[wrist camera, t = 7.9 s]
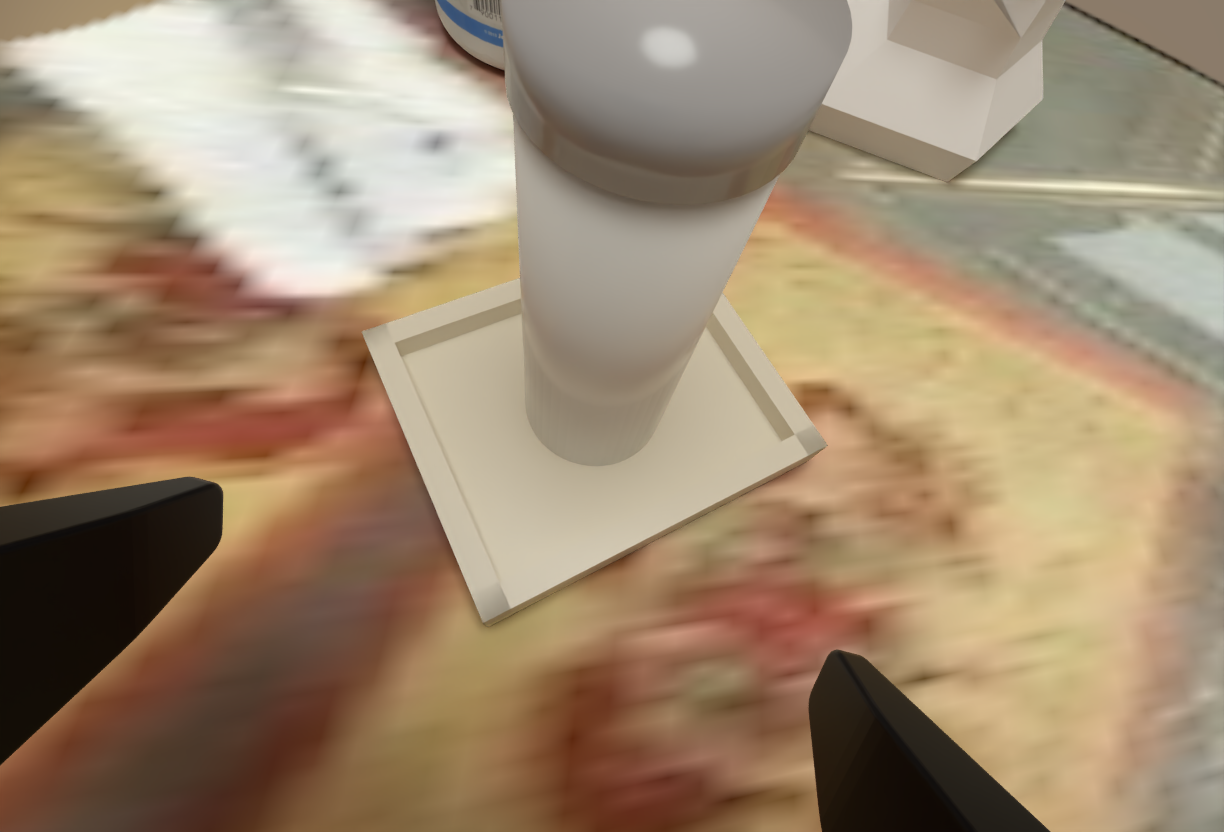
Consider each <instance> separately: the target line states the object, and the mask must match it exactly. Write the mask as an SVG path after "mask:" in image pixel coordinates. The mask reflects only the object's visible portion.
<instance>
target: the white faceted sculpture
mask: <svg viewBox="0 0 1224 832" xmlns="http://www.w3.org/2000/svg"><path fill="white" fill-rule="evenodd" d="M847 2H848V5H849V8H850V11H851V18H852V38H851V42H850V45H849V49H848V52H847V54H846V56H845V58H844V60H843V62H842V64H841V66H840V68H839V70H838V72H837V74H836V76H835V78H834V80H833V82H832V84H831V86H830V88H829V90H828V92H827V94H826V96H825V98H824V100H823V102H822V104H821V106H820V108H819V110H818V112H817V114H816V116H815V118H814V120H813V122H812V124H811V126H810V128H809V131H812V132H815V133H817V134H820V135H823V136H825V137H828V138H831V139H833V140H836V141H839V142H841V143H844V144H847V145H849V146H852V147H855V148H857V149H860V150H863V151H865V152H868V153H871V154H873V155H876V156H879V157H881V158H884V159H887V160H889V161H892V162H895V163H897V164H900V165H903V166H905V167H908V168H911V169H913V170H916V171H919V172H921V173H924V174H927V175H929V176H932V177H935V178H937V179H940V180H943V181H945V182H948V181H949V180H951V179H952V178H954V177H955V176H956V175H958V174H959V173H961V172H962V171H963V170H965V169H966V168H968V167H969V166H970V165H972V164H973V163H975V162H976V161H977V160H978V159H979V158H980V157H982V156H983V155H984V154H985V153H986V152H987V151H988V150H989V149H990V148H991V147H992V146H993V145H994V144H995V143H996V142H998V141H999V140H1000V139H1001V138H1002V137H1003V136H1004V135H1005V134H1006V133H1007V132H1008V131H1009V130H1010V129H1011V128H1012V127H1014V126H1015V125H1016V124H1017V123H1018V122H1019V121H1020V120H1021V119H1022V118H1023V117H1024V116H1025V115H1026V114H1027V113H1028V112H1030V111H1031V110H1032V109H1033V108H1034V107H1035V106H1036V105H1037V104H1038V103H1039V102H1040V101H1041V100H1042V99H1043V62H1042V40H1043V38H1044V36H1045V35H1046V33H1047V31H1048V29H1049V28H1050V26H1051V24H1052V23H1053V21H1054V19H1055V17H1056V16H1057V14H1058V12H1059V11H1060V9H1061V7H1062V6H1063V4H1064V2H1065V0H847Z"/></svg>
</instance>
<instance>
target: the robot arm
mask: <svg viewBox="0 0 1224 832" xmlns="http://www.w3.org/2000/svg"><path fill="white" fill-rule="evenodd" d="M222 525H223V491H222V488H221V487H220V486H219V485H218V484H217V483H214V482H210V481H206V480H203V479H199V478H195V477H183V478H177V479H171V480H165V481H158V482H152V483H146V484H140V485H133V486H127V487H121V488H115V489H109V490H102V491H96V492H90V493H84V494H77V495H71V496H65V497H59V498H53V499H46V500H40V501H34V502H28V503H21V504H15V505H9V506H3V507H0V765H1V764H2V763H3V762H4V761H5V760H6V759H8V758H9V757H10V756H11V755H12V754H13V753H14V752H15V751H16V750H17V749H18V748H19V747H20V746H21V745H23V744H24V743H25V742H26V741H27V740H28V739H29V738H30V737H31V736H32V735H33V734H34V733H35V732H36V731H37V730H39V729H40V728H41V727H42V726H43V725H44V724H45V723H46V722H47V721H48V720H49V719H50V718H51V717H52V716H54V715H55V714H56V713H57V712H58V711H59V710H60V709H61V708H62V707H63V706H64V705H65V704H66V703H67V702H69V701H70V700H71V699H72V698H73V697H74V696H75V695H76V694H77V693H78V692H79V691H80V690H81V689H82V688H84V687H85V686H86V685H87V684H88V683H89V682H90V681H91V680H92V679H93V678H94V677H95V676H96V675H97V674H98V673H100V672H101V671H102V670H103V669H104V668H105V667H106V666H107V665H108V664H109V663H110V662H111V661H112V660H113V659H115V658H116V657H117V656H118V655H119V654H120V653H121V652H122V651H123V650H124V649H125V648H126V647H127V646H128V645H129V644H130V643H131V642H132V641H133V640H134V639H135V638H136V637H137V636H138V635H139V634H140V633H141V632H142V631H143V630H144V629H145V628H146V627H147V626H148V625H149V623H150V622H151V621H152V620H153V619H154V618H155V617H156V616H157V615H158V613H159V612H160V611H161V610H162V609H163V608H164V607H165V606H166V605H167V603H168V602H169V601H170V600H171V599H172V598H173V597H174V596H175V594H176V593H177V592H178V591H179V590H180V589H181V588H182V587H183V586H184V584H185V583H186V582H187V581H188V580H189V579H190V578H191V577H192V575H193V574H194V573H195V572H196V571H197V570H198V569H199V568H200V567H201V565H202V564H203V563H204V562H205V561H206V560H207V559H208V558H209V556H210V555H211V554H212V553H213V552H214V551H215V549H216V548H217V546H218V544H219V542H220V540H221V536H222ZM809 719H810V729H811V739H812V749H813V758H814V768H815V778H816V788H817V798H818V807H819V814H820V822H821V828H822V832H1050V831H1049V830H1048V829H1047V828H1046V827H1045V826H1044V825H1043V824H1042V823H1041V822H1040V821H1038V820H1037V819H1036V818H1035V817H1034V816H1033V815H1032V814H1031V813H1030V812H1029V811H1028V810H1027V809H1026V808H1025V807H1024V806H1022V805H1021V804H1020V803H1019V802H1018V801H1017V800H1016V799H1015V798H1014V797H1013V796H1012V795H1011V794H1010V793H1009V792H1007V791H1006V790H1005V789H1004V788H1003V787H1002V786H1001V785H1000V784H999V783H998V782H997V781H996V780H995V779H994V778H993V777H991V776H990V775H989V774H988V773H987V772H986V771H985V770H984V769H983V768H982V767H981V766H980V765H979V764H978V763H977V762H975V761H974V760H973V759H972V758H971V757H970V756H969V755H968V754H967V753H966V752H965V751H964V750H963V749H962V748H960V747H959V746H958V745H957V744H956V743H955V742H954V741H953V740H952V739H951V738H950V737H949V736H948V735H947V734H946V733H944V732H943V731H942V730H941V729H940V728H939V727H938V726H937V725H936V724H935V723H934V722H933V721H932V720H931V719H930V718H928V717H927V716H926V715H925V714H924V713H923V712H922V711H921V710H920V709H919V708H918V707H917V706H916V705H915V704H913V703H912V702H911V701H910V700H909V699H908V698H907V697H906V696H905V695H904V694H903V693H902V692H901V691H900V690H899V689H897V688H896V687H895V686H894V685H893V684H892V683H891V682H890V681H889V680H888V679H887V678H886V677H885V676H884V675H883V674H881V673H880V672H879V671H878V670H877V669H876V668H875V667H874V666H873V665H872V664H871V663H870V662H869V661H868V660H866V659H865V658H864V657H862V656H860V655H857V654H853V653H849V652H845V651H841V650H834V651H832V652H831V653H830V654H829V655H828V657H827V659H826V661H825V663H824V665H823V667H822V669H821V672H820V674H819V676H818V678H817V680H816V682H815V684H814V687H813V689H812V691H811V694H810V698H809Z"/></svg>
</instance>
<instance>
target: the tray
mask: <svg viewBox="0 0 1224 832" xmlns="http://www.w3.org/2000/svg"><path fill="white" fill-rule="evenodd" d="M362 334H363V336H364V338H365V341H366V343H367V346H368V348H369V350H370V353H371V355H372V358H373V360H374V362H375V365H376V367H377V370H378V372H379V374H380V377H381V379H382V382H383V384H384V386H385V389H386V391H387V394H388V396H389V398H390V401H391V403H392V406H393V408H394V410H395V413H396V415H397V418H398V420H399V422H400V425H401V427H402V430H403V432H404V434H405V437H406V439H407V442H408V444H409V446H410V449H411V451H412V454H413V456H414V458H415V461H416V463H417V466H418V468H419V470H420V473H421V475H422V478H423V480H424V482H425V485H426V487H427V490H428V492H429V494H430V497H431V499H432V502H433V504H434V506H435V509H436V511H437V514H438V516H439V518H440V521H441V523H442V526H443V528H444V530H445V533H446V535H447V538H448V540H449V542H450V545H451V547H452V550H453V552H454V554H455V557H456V559H457V562H458V564H459V566H460V569H461V571H462V574H463V576H464V578H465V581H466V583H467V586H468V588H469V590H470V593H471V595H472V598H473V600H474V603H475V605H476V607H477V610H478V612H479V615H480V617H481V619H482V622H483V623H484V624H485V625H486V626H487V627H489V626H491V625H493V624H495V623H497V622H499V621H501V620H503V619H504V618H506V617H508V616H510V615H512V614H514V613H516V612H518V611H520V610H522V609H524V608H526V607H528V606H530V605H531V604H533V603H535V602H537V601H539V600H541V599H543V598H545V597H547V596H549V595H551V594H553V593H555V592H557V591H558V590H560V589H562V588H564V587H566V586H568V585H570V584H572V583H574V582H576V581H578V580H580V579H582V578H583V577H585V576H587V575H589V574H591V573H593V572H595V571H597V570H599V569H601V568H603V567H605V566H607V565H609V564H610V563H612V562H614V561H616V560H618V559H620V558H622V557H624V556H626V555H628V554H630V553H632V552H634V551H636V550H637V549H639V548H641V547H643V546H645V545H647V544H649V543H651V542H653V541H655V540H657V539H659V538H661V537H663V536H664V535H666V534H668V533H670V532H672V531H674V530H676V529H678V528H680V527H682V526H684V525H686V524H688V523H690V522H691V521H693V520H695V519H697V518H699V517H701V516H703V515H705V514H707V513H709V512H711V511H713V510H715V509H717V508H718V507H720V506H722V505H724V504H726V503H728V502H730V501H732V500H734V499H736V498H738V497H740V496H742V495H744V494H745V493H747V492H749V491H751V490H753V489H755V488H757V487H759V486H761V485H763V484H765V483H767V482H769V481H771V480H772V479H774V478H776V477H778V476H780V475H782V474H784V473H786V472H788V471H790V470H792V469H794V468H796V467H798V466H799V465H801V464H803V463H805V462H807V461H809V460H810V459H811V458H813V457H814V456H815V455H816V454H818V453H819V452H820V451H821V450H823V449H824V448H825V447H826V446H828V445H827V444H826V442H825V441H824V439H823V438H822V436H821V435H820V433H819V432H818V431H817V429H816V428H815V426H814V425H813V423H812V422H811V420H810V419H809V417H808V416H807V415H806V413H805V412H804V410H803V409H802V407H801V406H800V404H799V403H798V401H797V400H796V399H795V397H794V396H793V394H792V393H791V391H790V390H789V388H788V387H787V385H786V384H785V383H784V381H783V380H782V378H781V377H780V375H779V374H778V372H777V371H776V369H775V368H774V367H773V365H772V364H771V362H770V361H769V359H768V358H767V356H766V355H765V354H764V352H763V351H762V349H761V348H760V346H759V345H758V343H757V342H756V340H755V339H754V338H753V336H752V335H751V333H750V332H749V330H748V329H747V327H746V326H745V324H744V323H743V322H742V320H741V319H740V317H739V316H738V314H737V313H736V311H735V310H734V308H733V307H732V306H731V304H730V303H729V301H728V300H727V298H726V297H725V295H724V294H723V292H722V294H721V296H720V298H719V301H718V303H717V305H716V307H715V309H714V311H713V313H712V315H711V317H710V319H709V321H708V323H707V325H706V327H705V329H704V331H703V333H702V336H701V338H700V340H699V342H698V344H697V346H696V348H695V350H694V352H693V354H692V356H691V358H690V360H689V362H688V364H687V366H686V369H685V371H684V373H683V375H682V377H681V379H680V381H679V383H678V385H677V387H676V389H675V391H674V393H673V395H672V397H671V399H670V401H669V404H668V406H667V408H666V410H665V412H664V414H663V416H662V418H661V420H660V422H659V424H658V426H657V428H656V430H655V432H654V434H653V436H652V438H651V439H650V440H649V442H648V443H647V444H646V445H645V446H644V447H643V448H642V449H641V450H640V451H639V452H637V453H636V454H635V455H633V456H631V457H630V458H628V459H626V460H623V461H621V462H618V463H615V464H611V465H604V466H588V465H581V464H577V463H573V462H570V461H568V460H565V459H563V458H561V457H559V456H558V455H556V454H554V453H553V452H552V451H550V450H549V449H548V448H547V447H546V446H545V445H543V444H542V442H541V441H540V440H539V439H538V438H537V436H536V435H535V433H534V431H533V430H532V428H531V426H530V423H529V421H528V417H527V413H526V406H525V384H524V360H523V336H522V312H521V288H520V278H518V279H515V280H512V281H509V282H506V283H503V284H501V285H498V286H495V287H492V288H489V289H486V290H483V291H480V292H477V293H474V294H471V295H468V296H465V297H462V298H459V299H456V300H453V301H451V302H448V303H445V304H442V305H439V306H436V307H433V308H430V309H427V310H424V311H421V312H418V313H415V314H412V315H409V316H406V317H403V318H400V319H398V320H395V321H392V322H389V323H386V324H383V325H380V326H377V327H374V328H371V329H368V330H365V331H362Z"/></svg>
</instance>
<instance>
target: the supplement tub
mask: <svg viewBox="0 0 1224 832" xmlns="http://www.w3.org/2000/svg"><path fill="white" fill-rule="evenodd" d="M435 3H436V7H437V12H438V14H439V17H440V19H441V21H442V23H443V25H444V27H445V29H446V30H447V31H448V33H449V34H450V36H451V37H452V38H453V39H454V40H455V41H456V42H457V43H458V44H459V45H460V46H461V47H462V48H463V49H464V50H465V51H467V52H468V53H469V54H471V55H472V56H474V57H475V58H477V59H479V60H481V61H483V62H485V63H487V64H489V65H491V66H494V67H496V68H499V69H502V70H505V69H504V50H503V31H502V12H501V0H435Z"/></svg>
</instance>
